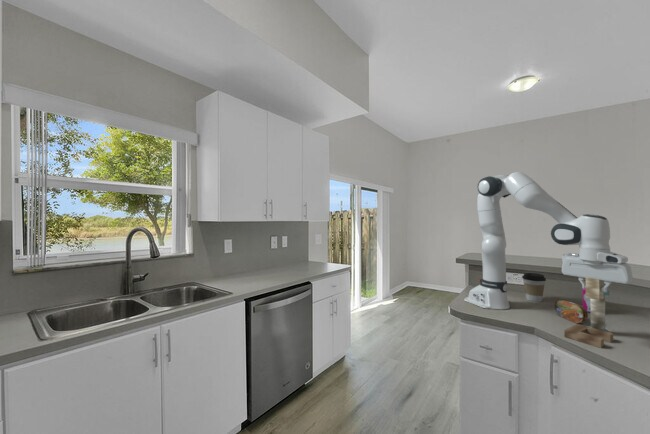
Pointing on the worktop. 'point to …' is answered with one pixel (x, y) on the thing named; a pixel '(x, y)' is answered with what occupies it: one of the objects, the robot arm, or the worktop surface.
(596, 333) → the notched board
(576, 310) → the tin
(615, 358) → the worktop surface
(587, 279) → the maple block
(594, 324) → the bobbin post
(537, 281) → the coffee cup
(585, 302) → the supplement box
